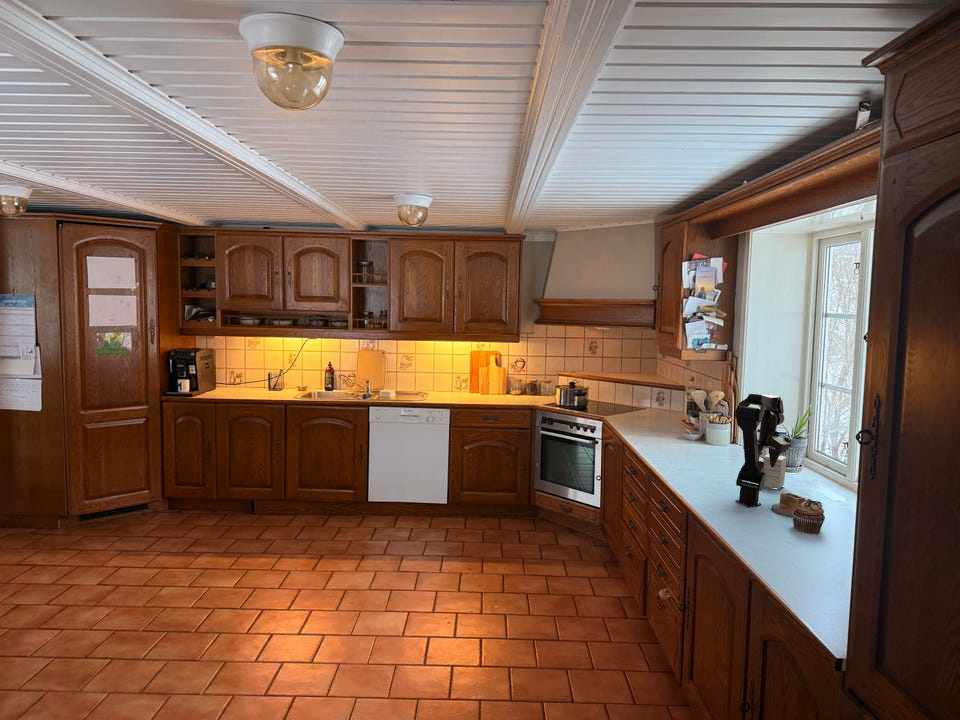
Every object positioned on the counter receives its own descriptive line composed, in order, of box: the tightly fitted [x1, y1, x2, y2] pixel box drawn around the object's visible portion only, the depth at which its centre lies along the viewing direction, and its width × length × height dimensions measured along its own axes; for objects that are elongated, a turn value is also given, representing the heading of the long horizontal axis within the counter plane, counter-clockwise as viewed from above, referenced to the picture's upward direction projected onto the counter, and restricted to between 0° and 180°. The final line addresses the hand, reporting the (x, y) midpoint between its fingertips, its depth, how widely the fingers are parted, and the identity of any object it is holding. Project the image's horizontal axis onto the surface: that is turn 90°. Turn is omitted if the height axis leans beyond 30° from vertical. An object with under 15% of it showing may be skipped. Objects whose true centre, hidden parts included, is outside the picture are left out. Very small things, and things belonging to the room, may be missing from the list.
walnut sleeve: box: [778, 492, 806, 512], centre depth 235 cm, size 7×4×5 cm, turn 27°
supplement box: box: [762, 453, 788, 490], centre depth 268 cm, size 7×7×13 cm
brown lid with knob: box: [771, 503, 793, 518], centre depth 235 cm, size 13×13×4 cm
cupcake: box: [792, 498, 826, 535], centre depth 216 cm, size 10×10×10 cm
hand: (763, 467), depth 253 cm, fingers open, 9 cm apart
